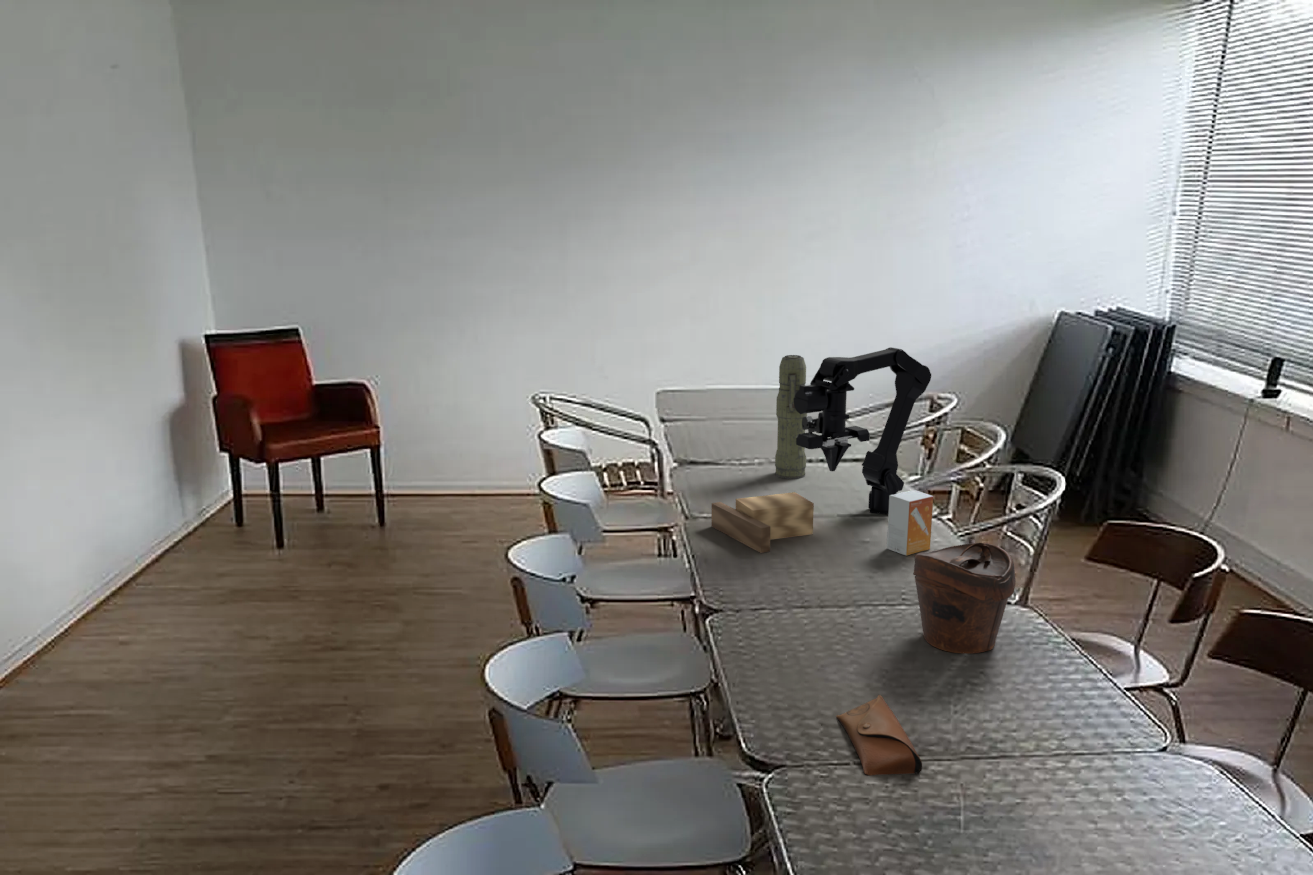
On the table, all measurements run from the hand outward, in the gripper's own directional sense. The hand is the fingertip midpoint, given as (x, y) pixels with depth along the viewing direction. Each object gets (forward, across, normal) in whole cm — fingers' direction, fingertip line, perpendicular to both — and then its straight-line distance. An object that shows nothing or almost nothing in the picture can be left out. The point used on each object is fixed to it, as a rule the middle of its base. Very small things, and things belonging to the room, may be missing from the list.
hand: (832, 471), depth 252 cm
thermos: (+13, -16, -40) cm, 45 cm away
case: (+13, +22, +67) cm, 72 cm away
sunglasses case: (+14, +59, +88) cm, 107 cm away
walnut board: (+13, +27, 0) cm, 30 cm away
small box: (+13, -3, +26) cm, 29 cm away
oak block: (+13, +17, 0) cm, 22 cm away
